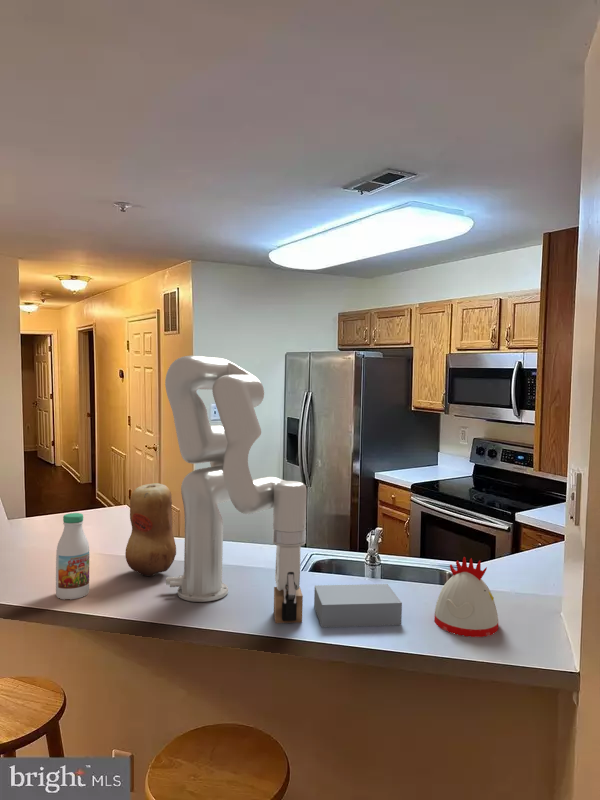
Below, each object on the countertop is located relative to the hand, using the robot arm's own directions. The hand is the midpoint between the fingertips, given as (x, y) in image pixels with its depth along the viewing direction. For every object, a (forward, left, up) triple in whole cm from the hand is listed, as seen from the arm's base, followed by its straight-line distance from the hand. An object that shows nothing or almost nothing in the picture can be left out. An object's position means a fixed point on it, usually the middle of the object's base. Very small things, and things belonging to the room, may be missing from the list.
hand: (287, 613), depth 130 cm
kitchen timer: (+40, -6, -1) cm, 40 cm away
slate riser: (+16, 0, -1) cm, 16 cm away
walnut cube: (0, 0, -1) cm, 1 cm away
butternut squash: (-35, +31, -1) cm, 47 cm away
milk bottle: (-52, +17, -1) cm, 55 cm away
